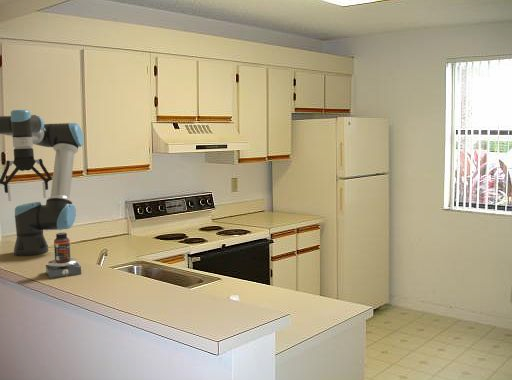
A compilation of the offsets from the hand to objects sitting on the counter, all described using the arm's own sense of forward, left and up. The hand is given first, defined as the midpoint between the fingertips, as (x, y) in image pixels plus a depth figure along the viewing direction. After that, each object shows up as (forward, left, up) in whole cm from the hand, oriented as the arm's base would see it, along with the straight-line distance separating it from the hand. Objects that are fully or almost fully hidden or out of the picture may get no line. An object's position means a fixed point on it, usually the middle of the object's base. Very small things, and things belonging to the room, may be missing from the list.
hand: (27, 199), depth 238 cm
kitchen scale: (+18, +10, -29) cm, 35 cm away
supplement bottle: (+18, +10, -24) cm, 32 cm away
